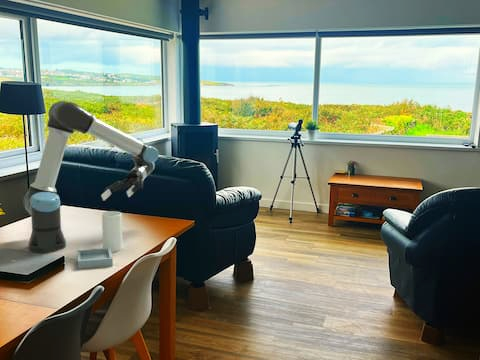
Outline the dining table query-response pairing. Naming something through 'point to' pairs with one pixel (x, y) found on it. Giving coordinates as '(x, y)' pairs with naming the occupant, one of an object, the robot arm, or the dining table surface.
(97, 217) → the dining table surface
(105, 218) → the cup
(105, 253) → the dock tray
